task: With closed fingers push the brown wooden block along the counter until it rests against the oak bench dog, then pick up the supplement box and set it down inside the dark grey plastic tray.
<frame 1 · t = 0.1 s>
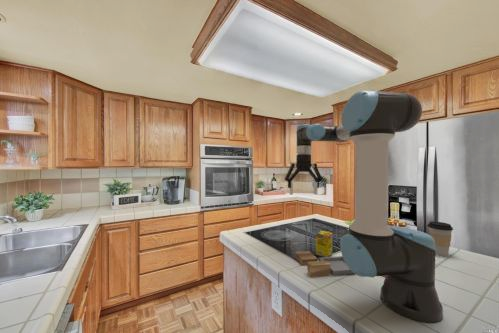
hand: (303, 194, 111), 28 cm above the countertop, fingers open, 13 cm apart
brown wooden block: (305, 261, 94), on the countertop
supplement box: (324, 256, 100), on the countertop
bench dog: (318, 274, 82), on the countertop
coffee cup: (439, 254, 103), on the countertop
tray: (338, 267, 88), on the countertop
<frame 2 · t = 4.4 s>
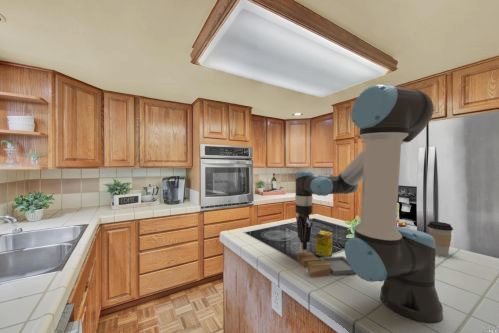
hand: (303, 255, 97), 1 cm above the countertop, fingers closed
brown wooden block: (308, 263, 92), on the countertop, touching gripper
everything else where it was.
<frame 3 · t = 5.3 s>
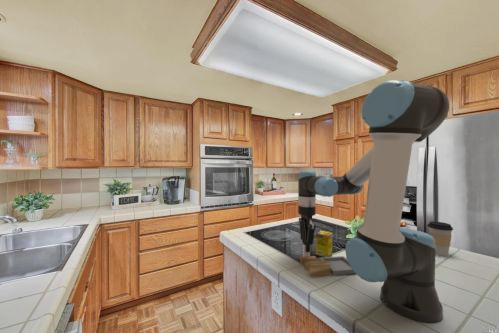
hand: (306, 258, 94), 1 cm above the countertop, fingers closed
brown wooden block: (311, 267, 89), on the countertop, touching gripper
everything else where it was.
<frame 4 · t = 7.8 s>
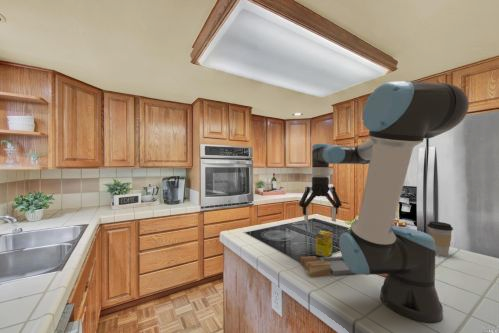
hand: (320, 221, 99), 17 cm above the countertop, fingers open, 13 cm apart
brown wooden block: (311, 267, 89), on the countertop
everything else where it was.
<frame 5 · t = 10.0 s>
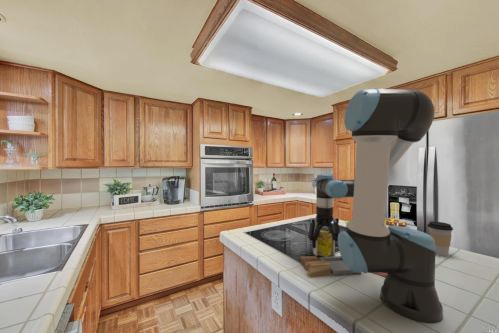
hand: (324, 254, 100), 1 cm above the countertop, fingers closed on supplement box, 8 cm apart
supplement box: (324, 256, 100), on the countertop, touching gripper
everything else where it was.
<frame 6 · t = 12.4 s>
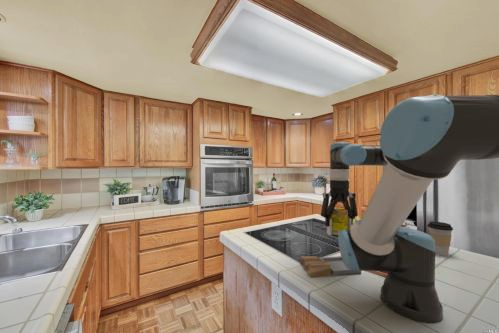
hand: (338, 233, 88), 14 cm above the countertop, fingers closed on supplement box, 8 cm apart
supplement box: (339, 235, 88), point 13 cm above the countertop, touching gripper
everything else where it was.
when the fingers open (3 cm above the countertop, at t = 14.8 s): supplement box drops 1 cm, resting on tray.
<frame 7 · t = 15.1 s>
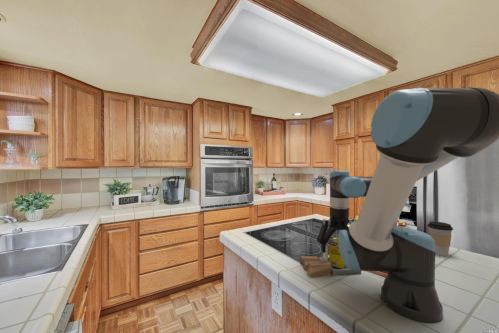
hand: (338, 258, 88), 4 cm above the countertop, fingers open, 11 cm apart
supplement box: (338, 267, 88), resting on tray
everything else where it was.
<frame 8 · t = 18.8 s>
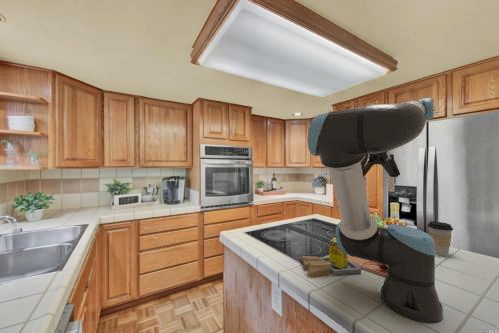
hand: (377, 191, 91), 32 cm above the countertop, fingers open, 13 cm apart
nothing on the countertop moved.
at the end: brown wooden block 0.2 cm from the target spot, on the countertop; supplement box 0.3 cm from the tray (horizontally); supplement box tilted 0° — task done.
